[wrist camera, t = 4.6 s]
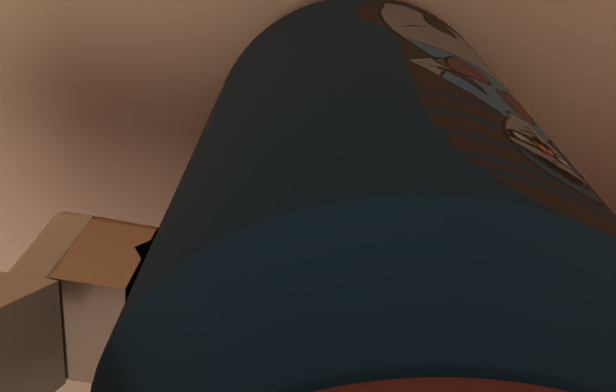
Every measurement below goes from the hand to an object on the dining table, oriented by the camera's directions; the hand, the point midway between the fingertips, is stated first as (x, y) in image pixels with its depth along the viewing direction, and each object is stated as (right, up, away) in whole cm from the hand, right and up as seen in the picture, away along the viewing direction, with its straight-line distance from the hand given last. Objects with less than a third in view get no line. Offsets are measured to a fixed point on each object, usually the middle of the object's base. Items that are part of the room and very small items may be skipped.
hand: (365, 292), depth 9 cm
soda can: (0, +4, +6) cm, 7 cm away
